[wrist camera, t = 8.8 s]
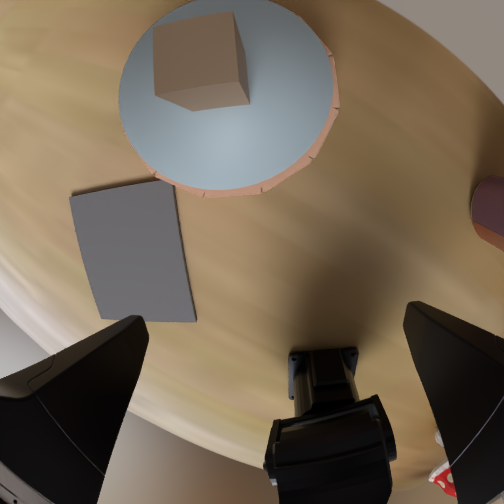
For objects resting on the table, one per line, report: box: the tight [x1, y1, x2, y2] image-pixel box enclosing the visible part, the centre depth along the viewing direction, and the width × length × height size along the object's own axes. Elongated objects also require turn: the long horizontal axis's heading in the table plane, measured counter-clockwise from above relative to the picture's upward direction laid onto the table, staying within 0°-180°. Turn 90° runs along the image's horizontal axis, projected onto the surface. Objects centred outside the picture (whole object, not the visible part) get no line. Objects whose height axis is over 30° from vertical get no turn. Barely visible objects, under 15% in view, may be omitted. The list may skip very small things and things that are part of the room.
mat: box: [69, 180, 197, 322], centre depth 22 cm, size 12×10×1 cm
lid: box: [119, 0, 333, 190], centre depth 10 cm, size 11×11×6 cm
